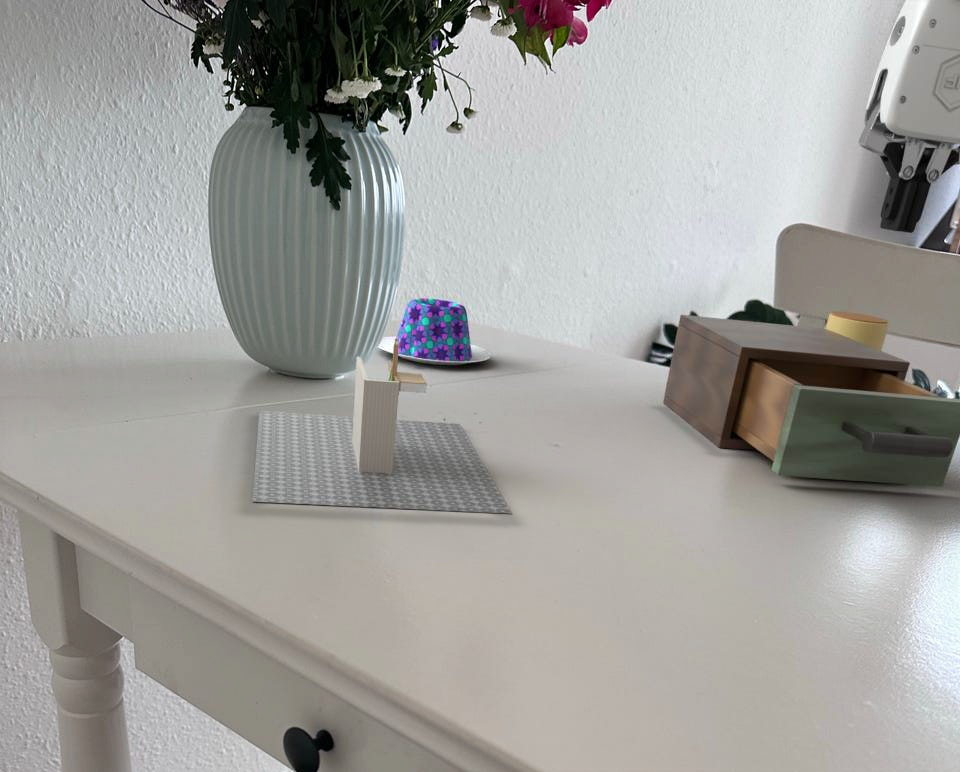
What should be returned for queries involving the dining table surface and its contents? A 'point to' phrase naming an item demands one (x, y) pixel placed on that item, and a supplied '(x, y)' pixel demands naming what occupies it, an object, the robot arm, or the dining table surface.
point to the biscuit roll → (859, 328)
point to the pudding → (435, 334)
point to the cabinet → (723, 361)
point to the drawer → (846, 423)
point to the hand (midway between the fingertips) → (896, 230)
